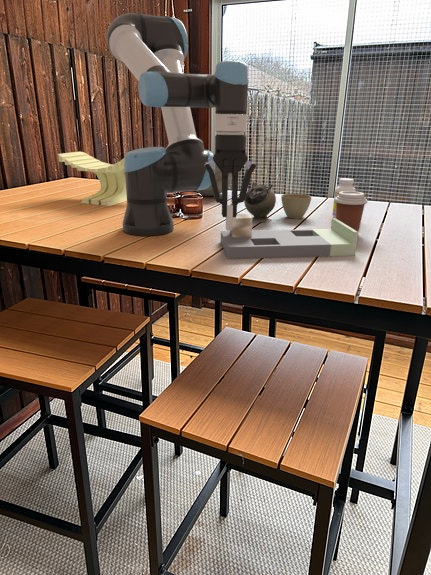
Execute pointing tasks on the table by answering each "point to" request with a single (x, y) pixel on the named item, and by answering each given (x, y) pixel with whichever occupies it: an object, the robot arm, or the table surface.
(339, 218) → the coffee cup
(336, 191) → the supplement bottle
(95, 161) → the slatted curved stool
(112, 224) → the table surface
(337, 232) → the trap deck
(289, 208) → the flower pot
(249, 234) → the cream block
